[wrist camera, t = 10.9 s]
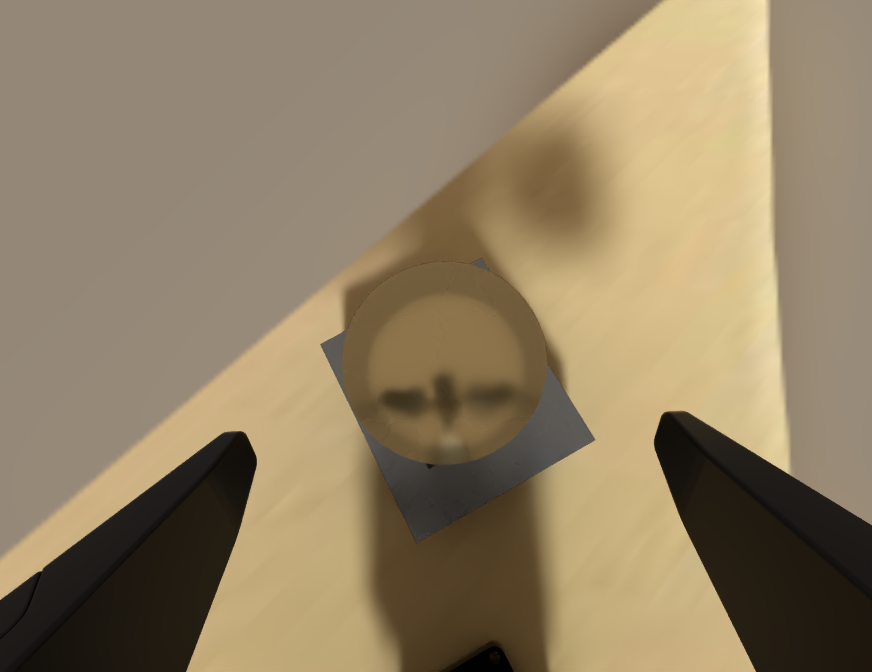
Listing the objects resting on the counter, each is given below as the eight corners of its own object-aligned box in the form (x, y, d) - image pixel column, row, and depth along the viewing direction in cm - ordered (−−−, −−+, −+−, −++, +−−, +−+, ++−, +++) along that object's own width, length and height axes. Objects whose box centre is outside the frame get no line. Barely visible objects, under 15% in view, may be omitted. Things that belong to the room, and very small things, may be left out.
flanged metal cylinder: (466, 461, 21) (475, 510, 9) (391, 410, 22) (301, 387, 10) (514, 384, 22) (585, 326, 10) (439, 337, 23) (415, 228, 10)
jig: (424, 521, 21) (416, 543, 17) (343, 358, 23) (320, 344, 19) (570, 437, 21) (595, 440, 18) (477, 285, 24) (481, 257, 20)
